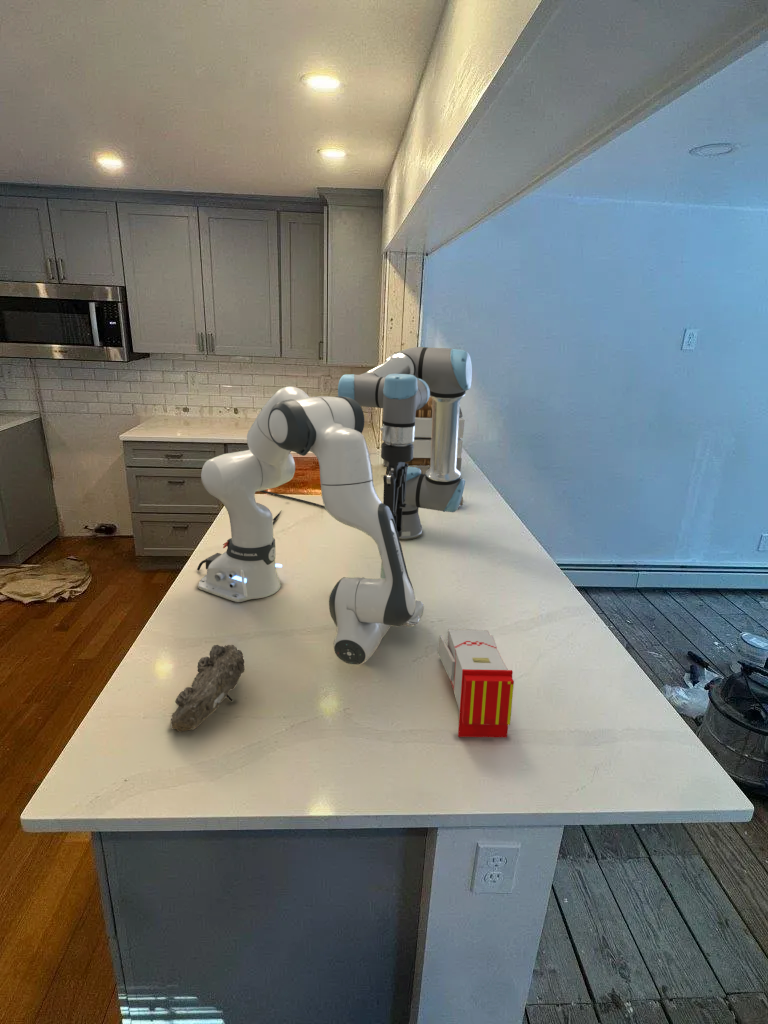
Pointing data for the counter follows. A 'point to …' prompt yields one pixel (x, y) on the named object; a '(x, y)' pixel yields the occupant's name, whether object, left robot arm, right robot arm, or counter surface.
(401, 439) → the right robot arm
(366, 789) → the counter surface
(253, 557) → the left robot arm
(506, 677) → the toy
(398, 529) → the cap
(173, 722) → the fossil
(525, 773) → the counter surface
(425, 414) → the transformer
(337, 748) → the counter surface
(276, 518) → the feather
